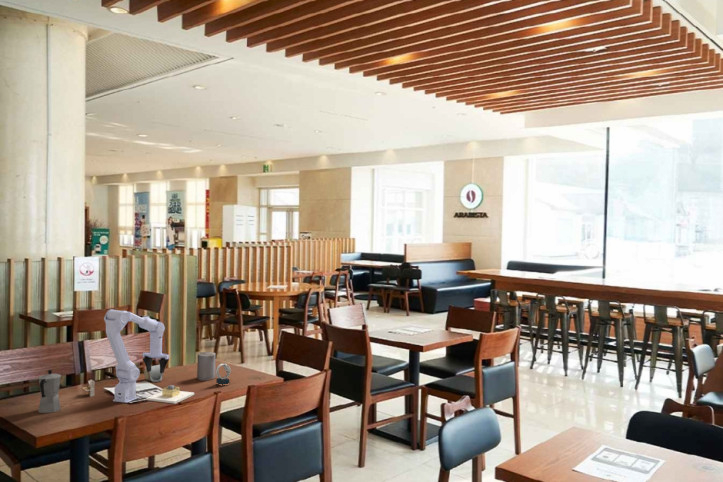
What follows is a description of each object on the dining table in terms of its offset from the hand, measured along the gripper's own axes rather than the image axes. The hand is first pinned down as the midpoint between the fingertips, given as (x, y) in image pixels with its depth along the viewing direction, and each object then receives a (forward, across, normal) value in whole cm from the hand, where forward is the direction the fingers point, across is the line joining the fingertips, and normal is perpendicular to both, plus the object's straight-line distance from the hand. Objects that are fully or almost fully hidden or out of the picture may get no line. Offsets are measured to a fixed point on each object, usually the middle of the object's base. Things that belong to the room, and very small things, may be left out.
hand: (155, 372), depth 293 cm
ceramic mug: (+10, +13, -18) cm, 24 cm away
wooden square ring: (+8, -14, +7) cm, 18 cm away
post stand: (+9, -14, +7) cm, 18 cm away
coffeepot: (+10, +23, +44) cm, 51 cm away
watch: (+10, -25, -23) cm, 35 cm away
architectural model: (+10, +24, +18) cm, 31 cm away
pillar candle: (+10, -10, -31) cm, 34 cm away
